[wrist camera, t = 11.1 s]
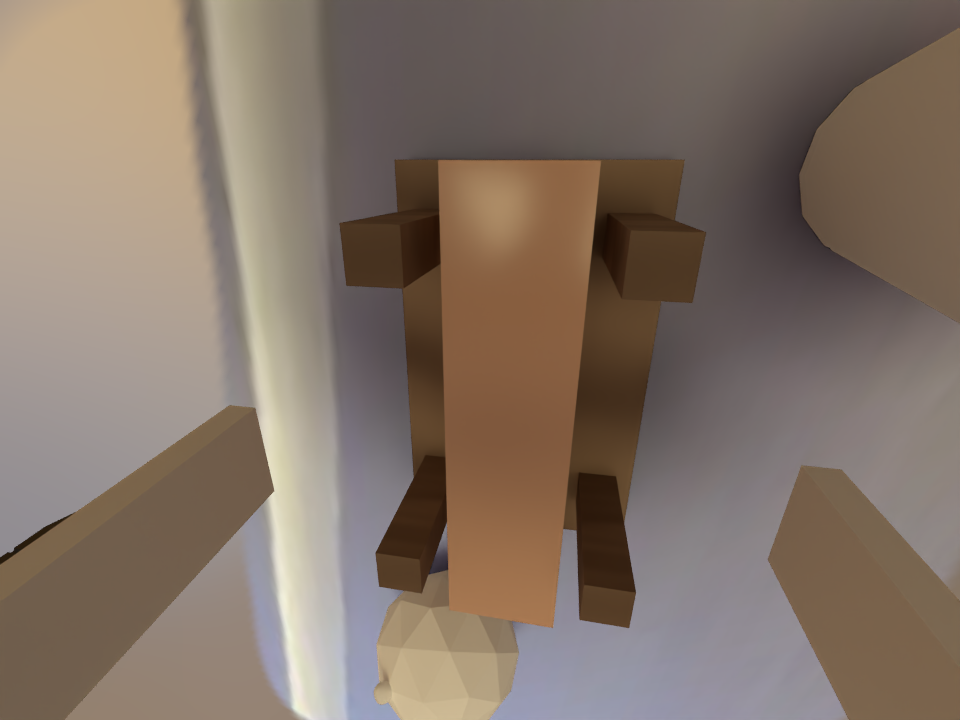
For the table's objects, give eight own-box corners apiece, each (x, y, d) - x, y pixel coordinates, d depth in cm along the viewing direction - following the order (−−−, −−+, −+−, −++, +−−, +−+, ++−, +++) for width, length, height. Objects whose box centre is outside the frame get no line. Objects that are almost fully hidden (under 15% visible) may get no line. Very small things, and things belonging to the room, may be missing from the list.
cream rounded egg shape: (459, 653, 28) (343, 737, 22) (450, 536, 28) (331, 590, 22) (551, 708, 23) (431, 835, 17) (540, 566, 23) (416, 646, 17)
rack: (407, 161, 17) (306, 148, 11) (674, 161, 16) (756, 146, 9) (424, 489, 24) (366, 616, 17) (618, 514, 22) (641, 665, 15)
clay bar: (555, 531, 21) (552, 627, 17) (473, 519, 22) (449, 609, 17) (590, 166, 15) (600, 160, 10) (475, 166, 16) (438, 160, 11)
